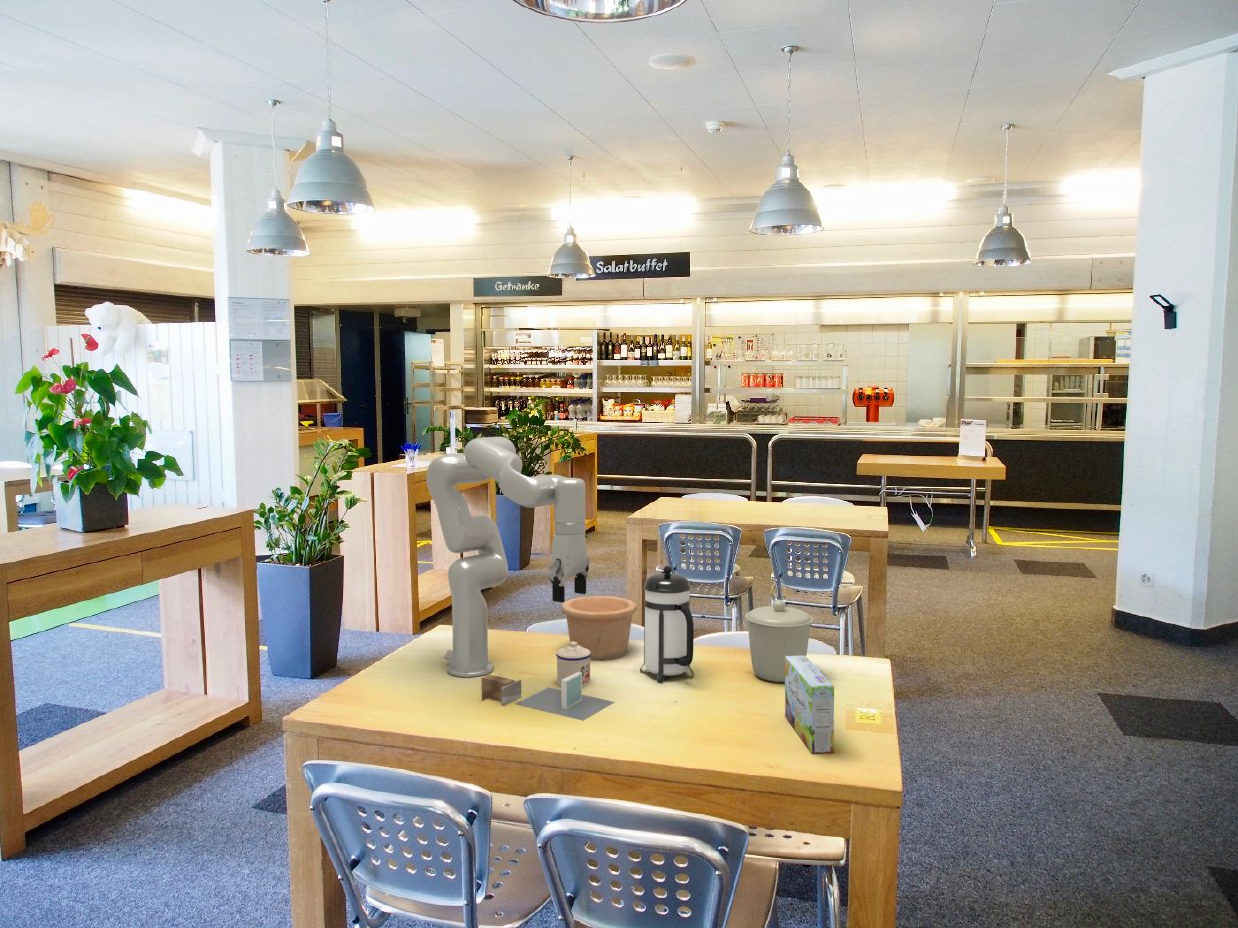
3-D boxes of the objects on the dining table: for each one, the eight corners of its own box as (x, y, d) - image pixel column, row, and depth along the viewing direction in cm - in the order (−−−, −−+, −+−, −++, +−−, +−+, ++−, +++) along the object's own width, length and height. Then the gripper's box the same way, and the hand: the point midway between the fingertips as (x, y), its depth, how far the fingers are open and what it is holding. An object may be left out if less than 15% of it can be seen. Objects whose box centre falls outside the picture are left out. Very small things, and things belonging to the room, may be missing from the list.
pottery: (649, 648, 258) (649, 601, 257) (609, 668, 239) (610, 617, 238) (589, 637, 269) (589, 592, 268) (547, 655, 251) (547, 607, 250)
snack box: (782, 717, 204) (783, 654, 203) (805, 716, 204) (806, 654, 203) (809, 754, 183) (811, 685, 182) (835, 753, 183) (837, 684, 182)
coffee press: (629, 680, 229) (630, 569, 226) (650, 663, 244) (650, 558, 241) (692, 689, 222) (693, 575, 220) (709, 670, 237) (710, 563, 235)
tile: (561, 708, 206) (561, 679, 205) (577, 699, 212) (577, 671, 211) (565, 709, 205) (565, 680, 205) (582, 700, 211) (582, 672, 211)
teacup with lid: (582, 693, 219) (582, 649, 218) (550, 689, 222) (550, 645, 221) (600, 679, 230) (600, 636, 229) (569, 675, 233) (569, 633, 232)
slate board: (514, 707, 209) (514, 703, 209) (548, 690, 221) (548, 687, 221) (583, 724, 199) (583, 720, 198) (615, 705, 211) (615, 701, 210)
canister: (783, 692, 220) (785, 612, 218) (730, 675, 234) (731, 599, 232) (825, 677, 232) (827, 600, 230) (772, 661, 246) (773, 589, 244)
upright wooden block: (476, 703, 212) (476, 679, 211) (494, 695, 218) (494, 671, 217) (503, 710, 208) (503, 686, 207) (521, 701, 214) (521, 677, 213)
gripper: (576, 522, 219) (575, 588, 221) (536, 532, 204) (536, 602, 206) (601, 525, 216) (600, 592, 217) (563, 535, 201) (562, 607, 202)
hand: (569, 597), depth 211 cm, fingers open, 9 cm apart
